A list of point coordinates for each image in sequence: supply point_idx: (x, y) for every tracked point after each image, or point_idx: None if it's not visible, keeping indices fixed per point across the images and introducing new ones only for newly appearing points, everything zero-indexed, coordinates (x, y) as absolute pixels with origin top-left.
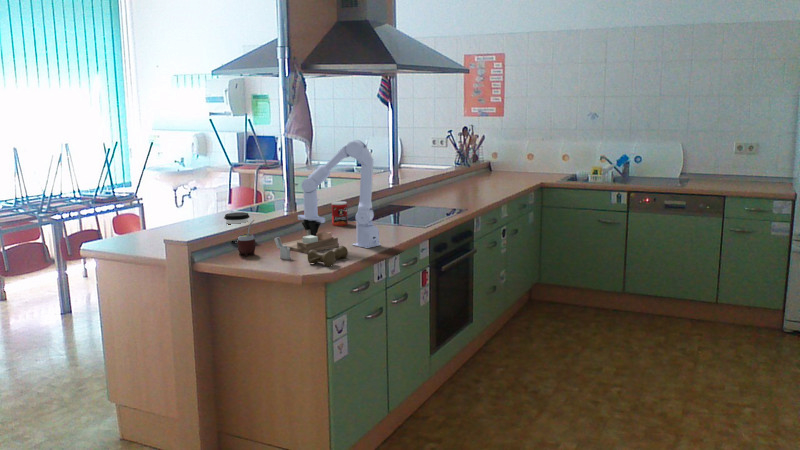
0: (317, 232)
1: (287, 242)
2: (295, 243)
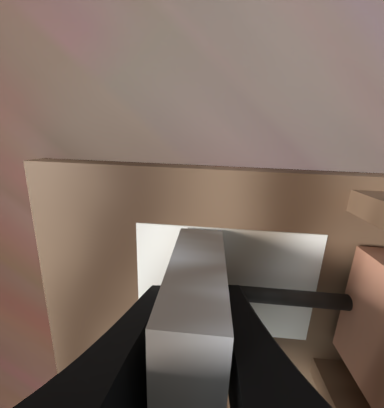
0: (226, 284)
1: None
2: None
